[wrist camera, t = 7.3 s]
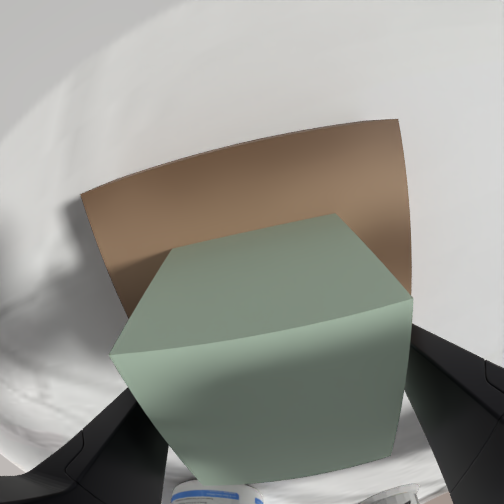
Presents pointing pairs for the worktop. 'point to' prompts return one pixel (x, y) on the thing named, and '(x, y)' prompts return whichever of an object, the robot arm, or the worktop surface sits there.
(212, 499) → the supplement tub
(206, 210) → the walnut block
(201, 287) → the sage cube
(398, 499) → the french press
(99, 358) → the worktop surface
